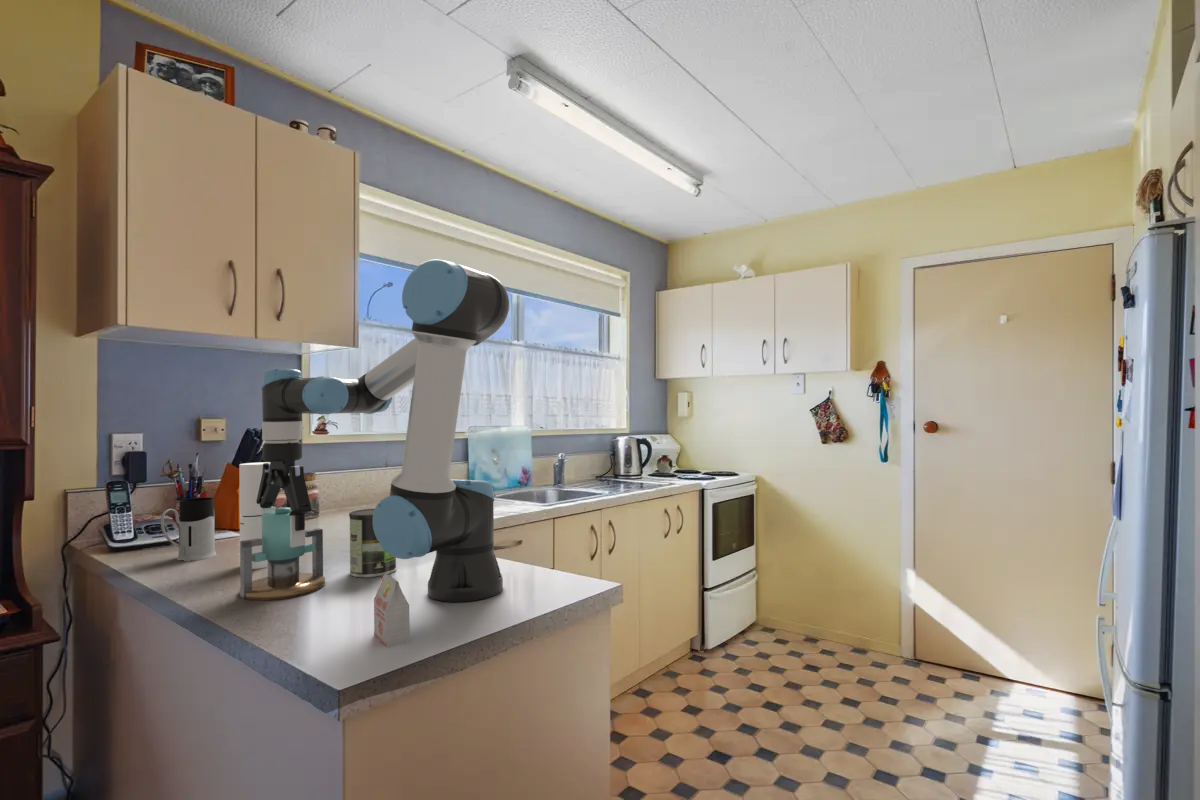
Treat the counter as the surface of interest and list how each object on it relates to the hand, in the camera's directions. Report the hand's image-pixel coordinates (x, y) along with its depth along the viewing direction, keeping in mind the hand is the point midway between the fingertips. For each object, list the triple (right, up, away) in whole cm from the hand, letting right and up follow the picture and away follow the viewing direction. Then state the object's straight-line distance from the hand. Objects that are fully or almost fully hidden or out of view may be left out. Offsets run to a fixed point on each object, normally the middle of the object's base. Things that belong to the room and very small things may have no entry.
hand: (282, 541), depth 130 cm
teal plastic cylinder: (0, -3, 0) cm, 3 cm away
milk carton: (+33, -9, -29) cm, 45 cm away
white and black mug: (-39, -11, +28) cm, 49 cm away
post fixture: (0, -10, 0) cm, 10 cm away
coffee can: (+15, -10, +13) cm, 22 cm away
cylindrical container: (-17, -11, +20) cm, 28 cm away
